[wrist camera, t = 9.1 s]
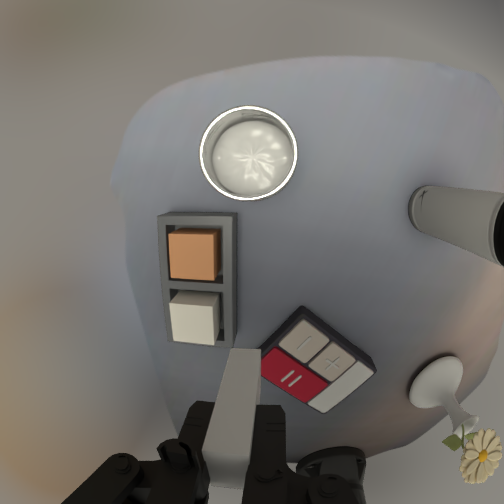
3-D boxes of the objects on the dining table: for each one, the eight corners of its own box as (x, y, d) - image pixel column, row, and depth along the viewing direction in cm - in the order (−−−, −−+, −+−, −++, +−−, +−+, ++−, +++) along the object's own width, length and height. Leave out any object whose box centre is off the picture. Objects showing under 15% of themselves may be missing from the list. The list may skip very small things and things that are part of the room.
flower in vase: (467, 358, 36) (535, 444, 12) (431, 404, 39) (479, 496, 14) (427, 342, 35) (507, 452, 11) (387, 394, 38) (433, 511, 14)
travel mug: (401, 191, 31) (515, 208, 11) (439, 181, 30) (552, 193, 10) (409, 238, 32) (514, 292, 13) (446, 226, 31) (552, 266, 12)
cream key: (220, 328, 34) (214, 345, 31) (183, 325, 35) (173, 340, 31) (219, 292, 33) (212, 306, 29) (180, 290, 34) (169, 303, 30)
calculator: (303, 315, 32) (379, 374, 33) (301, 301, 36) (372, 358, 37) (246, 370, 35) (324, 418, 35) (250, 353, 39) (321, 400, 39)
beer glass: (226, 143, 31) (188, 113, 17) (284, 134, 30) (291, 94, 16) (235, 199, 33) (204, 212, 18) (293, 191, 32) (309, 196, 17)
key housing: (236, 332, 37) (232, 348, 33) (177, 327, 38) (167, 341, 34) (237, 212, 33) (232, 216, 29) (169, 212, 34) (157, 216, 30)
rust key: (220, 269, 34) (213, 280, 30) (181, 267, 34) (170, 277, 30) (220, 228, 32) (213, 234, 29) (180, 227, 33) (168, 233, 29)
